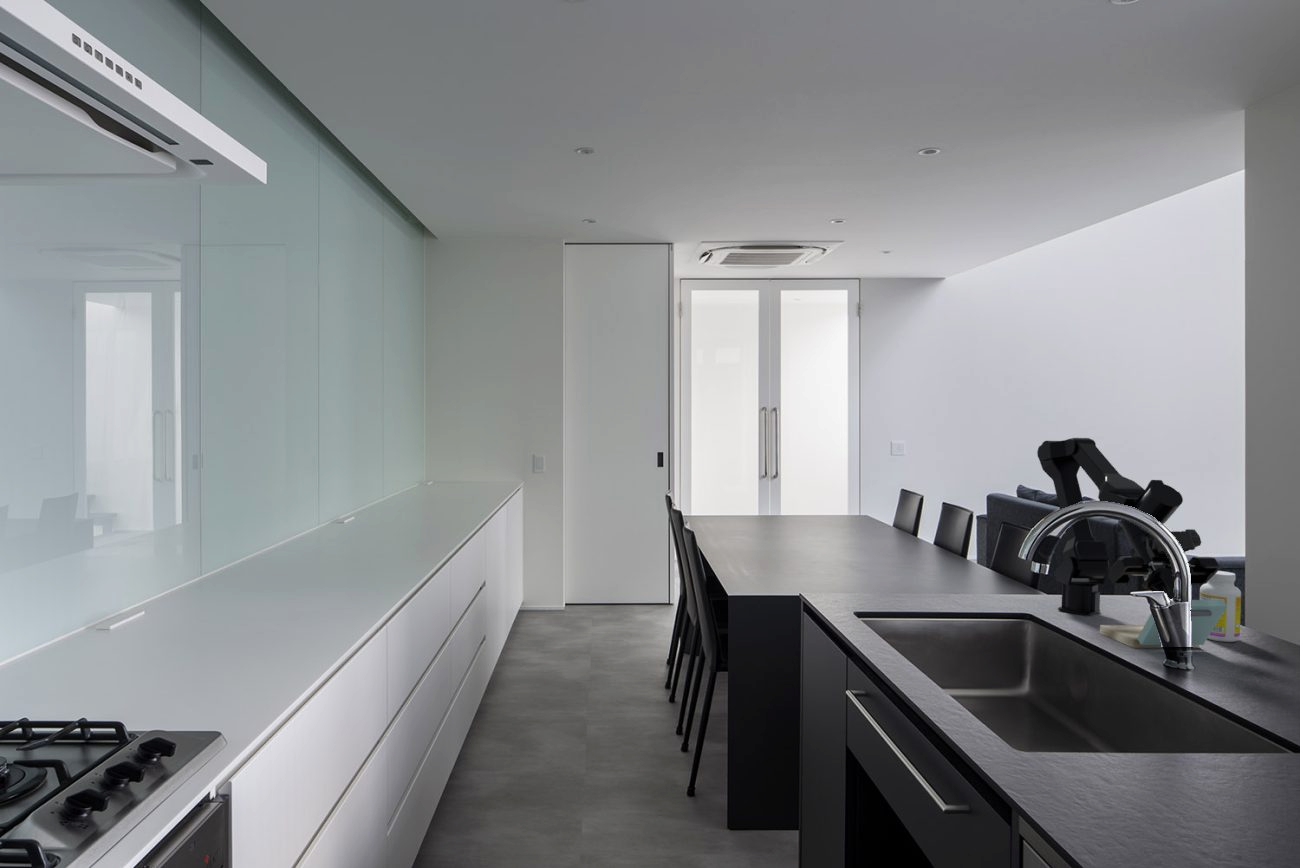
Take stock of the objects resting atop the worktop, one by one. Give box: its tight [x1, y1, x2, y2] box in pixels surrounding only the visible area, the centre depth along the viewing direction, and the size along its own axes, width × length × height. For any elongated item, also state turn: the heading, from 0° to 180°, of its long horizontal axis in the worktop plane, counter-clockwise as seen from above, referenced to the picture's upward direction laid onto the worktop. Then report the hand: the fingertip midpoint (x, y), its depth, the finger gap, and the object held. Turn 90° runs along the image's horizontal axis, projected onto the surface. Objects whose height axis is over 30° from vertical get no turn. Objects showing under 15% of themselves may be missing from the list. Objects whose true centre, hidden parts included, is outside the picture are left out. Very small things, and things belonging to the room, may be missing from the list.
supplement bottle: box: [1199, 570, 1242, 643], centre depth 162 cm, size 7×7×13 cm
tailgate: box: [1137, 599, 1227, 646], centre depth 151 cm, size 2×12×10 cm
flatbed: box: [1099, 624, 1200, 649], centre depth 160 cm, size 10×13×2 cm
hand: (1185, 610), depth 150 cm, fingers closed, pressing on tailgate
